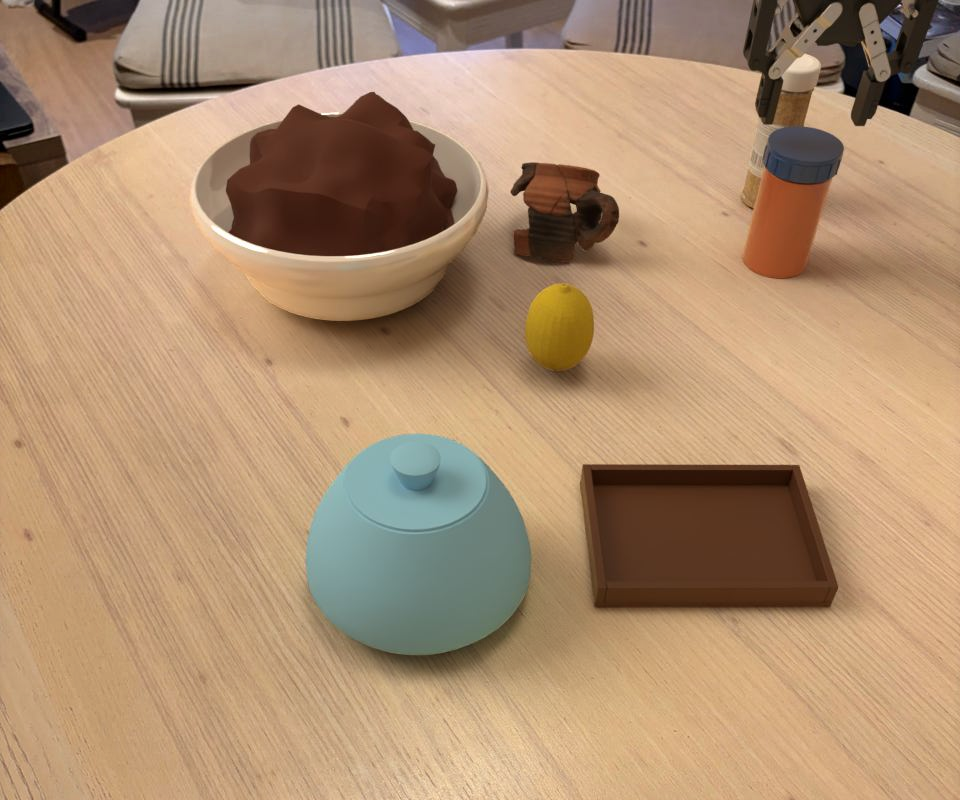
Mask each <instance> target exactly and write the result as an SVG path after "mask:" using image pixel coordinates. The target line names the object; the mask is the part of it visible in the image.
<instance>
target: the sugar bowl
mask: <svg viewBox="0 0 960 800" xmlns="http://www.w3.org/2000/svg"><path fill="white" fill-rule="evenodd" d="M305 569H306V570H305V571H306V580H307V584H308V588H309V591H310V595H311V597H312V598H313V600H314V603H315V604H316V606H317V607H318V608H319V610H320V611H321V613H322V614H323V616H325V618H326V619H327V620H328V621H329V622H330V623H331V624H332V625H333V626H334V628H336V629H337V630H339V631H340V632H341V633H342V634H344V635H345V636H347V637H348V638H351V639H352V640H354V641H355V642H358V643H360V644H362V645H365V646H367V647H369V648H372V649H374V650H375V649H376V650H379V651H382V652H385V653H390V654H397V655H404V656H405V655H407V656H429V655H437V654H444V653H447V652H451V651H456V650H459V649H461V648H464V647H467V646H469V645H472V644H475V643H476V642H479V641H480V640H482V639H484V638H486V637H488V636H489V635H491V634H493V633H494V632H495V631H497V630H499V628H501V626H503V625H504V624H505V623H506V622H507V621H508V620H509V619H510V618H511V617H512V616H513V614H514V613H516V611H517V609H518V608H519V606H520V605H521V603H522V601H523V600H524V598H525V596H526V594H527V591H528V589H529V585H530V582H531V581H530V580H531V576H532V575H531V573H532V553H531V544H530V538H529V534H528V530H527V527H526V524H525V520H524V517H523V515H522V512H521V511H520V509H519V507H518V505H517V502H516V501H515V499H514V497H513V496H512V494H511V492H510V491H509V490H508V488H507V487H506V485H505V483H503V481H502V480H501V479H500V478H499V477H498V475H497V474H496V473H495V472H494V471H493V469H492V468H491V467H490V466H489V465H488V464H487V463H486V462H485V461H484V460H483V459H482V458H481V457H480V456H479V455H477V454H476V453H475V452H474V451H473V450H471V449H470V448H469V447H467V446H465V444H462V443H460V442H458V441H456V440H453V439H451V438H448V437H445V436H441V435H437V434H430V433H405V434H398V435H394V436H390V437H387V438H383V439H381V440H379V441H376V442H374V443H372V444H370V445H368V446H367V447H365V448H363V449H362V450H361V451H360V452H358V454H356V455H355V456H354V457H353V458H352V459H351V460H349V461H348V463H347V464H346V465H345V466H344V467H343V468H342V470H341V471H340V472H339V474H338V475H336V477H335V478H334V480H333V481H332V483H331V484H330V485H329V487H328V488H327V490H326V492H325V493H324V495H323V496H322V498H321V500H320V501H319V504H318V506H317V508H316V510H315V512H314V515H313V517H312V520H311V523H310V527H309V531H308V535H307V540H306V550H305Z"/></svg>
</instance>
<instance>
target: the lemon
mask: <svg viewBox="0 0 960 800" xmlns="http://www.w3.org/2000/svg"><path fill="white" fill-rule="evenodd" d="M594 320H595V319H594V311H593V307H592V304H591V302H590V301H589V298H588V297H587V296H586V294H585V293H584V292H583V291H582V290H580V289H579V288H578V287H576V286H574V285H571V284H569V283H566V282H561V283H555V284H552V285H549V286H547V287H545V288H544V289H542V290H541V291H539V293H537V295H536V296H535V298H534V299H533V300H532V302H531V304H530V306H529V308H528V312H527V315H526V319H525V325H524V337H525V343H526V348H527V349H528V352H529V354H530V356H531V357H532V359H533V360H534V361H535V362H536V363H537V364H538V365H540V366H541V367H542V368H545V369H547V370H550V371H553V372H559V371H566V370H569V369H571V368H573V367H575V366H577V365H578V364H579V363H580V362H581V361H582V360H583V359H584V358H585V357H586V355H588V352H589V351H590V347H591V345H592V342H593V339H594V335H595V322H594Z"/></svg>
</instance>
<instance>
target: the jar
mask: <svg viewBox="0 0 960 800" xmlns="http://www.w3.org/2000/svg"><path fill="white" fill-rule="evenodd" d="M832 182H833V178H831V179H830V180H827V181H824V182H820V183H797V182H792V181H788V180H785V179H782V178H779V177H777V176H775V175H774V174H772V173H771V172H769V171H768V170H767V169H766V167H765V166H764V169H763V173H762V178H761V182H760V186H759V190H758V194H757V198H756V202H755V206H754V209H753V210H752V214H751V220H750V223H749V228H748V232H747V235H746V239H745V243H744V247H743V252H742V262H743V263H744V265H745V266H746V267H747V268H748V269H749V270H751V271H752V272H753V273H756V274H759V275H760V276H763V277H768V278H774V279H789V278H794V277H797V276H799V275H800V274H802V273H803V272H804V271H805V270H806V267H807V265H808V262H809V258H810V254H811V251H812V247H813V245H814V241H815V238H816V234H817V231H818V228H819V225H820V221H821V218H822V215H823V211H824V208H825V204H826V201H827V198H828V195H829V191H830V188H831V184H832Z"/></svg>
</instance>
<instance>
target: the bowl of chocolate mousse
mask: <svg viewBox="0 0 960 800" xmlns="http://www.w3.org/2000/svg"><path fill="white" fill-rule="evenodd" d="M488 200H489V183H488V179H487V176H486V172H485V170H484V168H483V166H482V164H481V162H480V161H479V159H478V158H477V157H476V156H475V154H474V153H473V152H472V151H471V150H470V149H468V148H467V147H466V146H465V145H464V143H462V142H460V141H459V140H458V139H456V138H454V137H453V136H451V135H449V134H447V133H446V132H443V131H441V130H440V129H437V128H436V127H433V126H429V125H427V124H424V123H421V122H418V121H415V120H411V119H408V117H407V116H406V115H405V114H404V113H403V112H402V111H401V110H400V109H399V108H398V107H397V106H394V105H393V104H391V103H390V102H388V101H387V100H386V99H384V98H383V97H382V96H381V95H379V94H376V92H375V91H369V92H367V93H365V94H363V95H361V96H359V98H357V99H356V100H355V101H354V102H353V103H352V104H351V105H350V106H349V107H348V108H347V109H346V110H345V111H337V112H335V111H334V112H320V113H319V112H317V111H315V110H313V109H310V108H308V107H306V106H303V105H301V104H299V103H298V104H296V105H294V106H292V108H291V109H290V110H289V111H288V113H287V114H286V116H285V117H284V118H281V119H277V120H274V121H269V122H266V123H263V124H260V125H257V126H253V127H252V128H249V129H247V130H245V131H242V132H240V133H238V134H236V135H234V136H233V137H231V138H229V139H227V140H226V141H224V142H222V143H221V144H220V145H219V146H217V147H216V148H215V149H213V150H212V151H211V152H210V153H209V154H207V156H206V157H205V158H204V159H203V160H202V162H201V163H200V164H199V166H198V167H197V169H196V170H195V172H194V174H193V176H192V180H191V184H190V190H189V204H190V209H191V213H192V217H193V219H194V222H195V224H196V226H197V228H198V230H199V231H200V233H201V234H202V235H203V236H204V238H205V239H206V240H207V242H208V243H209V244H210V246H211V247H212V248H213V249H214V250H215V251H216V252H217V253H218V254H219V255H220V256H221V257H222V258H223V259H224V260H225V261H227V262H228V263H229V264H230V265H232V266H233V267H234V268H235V269H237V270H238V271H240V272H241V273H242V274H243V275H244V276H245V278H246V279H247V281H248V282H249V283H250V284H251V286H252V288H254V290H256V291H257V293H258V295H260V296H261V297H262V298H263V299H265V300H266V301H267V302H268V303H270V304H272V305H274V306H275V307H277V308H279V309H281V310H284V311H286V312H289V313H290V314H294V315H297V316H300V317H305V318H310V319H315V320H322V321H336V322H350V321H351V322H352V321H363V320H370V319H376V318H380V317H384V316H388V315H389V316H390V315H392V314H395V313H398V312H401V311H403V310H405V309H407V308H410V307H412V306H413V305H415V304H418V303H419V302H420V301H422V300H423V299H425V298H426V297H427V296H429V295H430V294H431V293H432V292H433V291H434V290H435V288H437V286H438V285H439V284H440V282H441V280H442V279H443V277H444V275H445V274H446V272H447V270H448V268H449V267H450V263H451V262H452V261H453V260H454V259H455V258H456V257H457V256H458V255H459V254H460V253H461V252H462V251H463V250H464V249H465V248H466V246H467V245H468V244H469V243H470V242H471V240H472V239H473V237H474V236H475V235H476V233H477V231H478V229H479V227H480V225H481V224H482V221H483V220H484V217H485V215H486V212H487V210H488V209H487V208H488V202H489V201H488Z"/></svg>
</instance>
